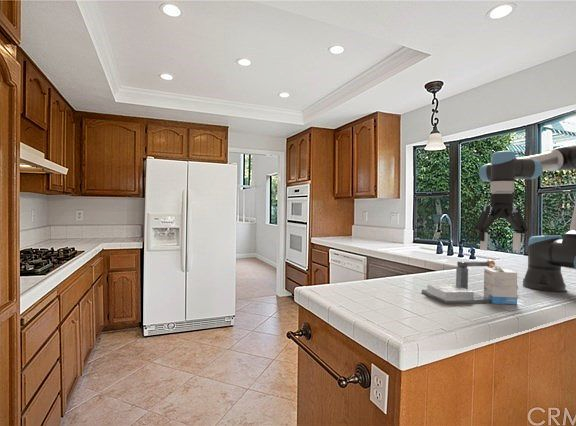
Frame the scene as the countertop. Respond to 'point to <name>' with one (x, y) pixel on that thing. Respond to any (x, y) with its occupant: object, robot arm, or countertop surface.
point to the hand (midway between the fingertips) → (500, 250)
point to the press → (455, 291)
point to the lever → (476, 264)
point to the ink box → (500, 285)
